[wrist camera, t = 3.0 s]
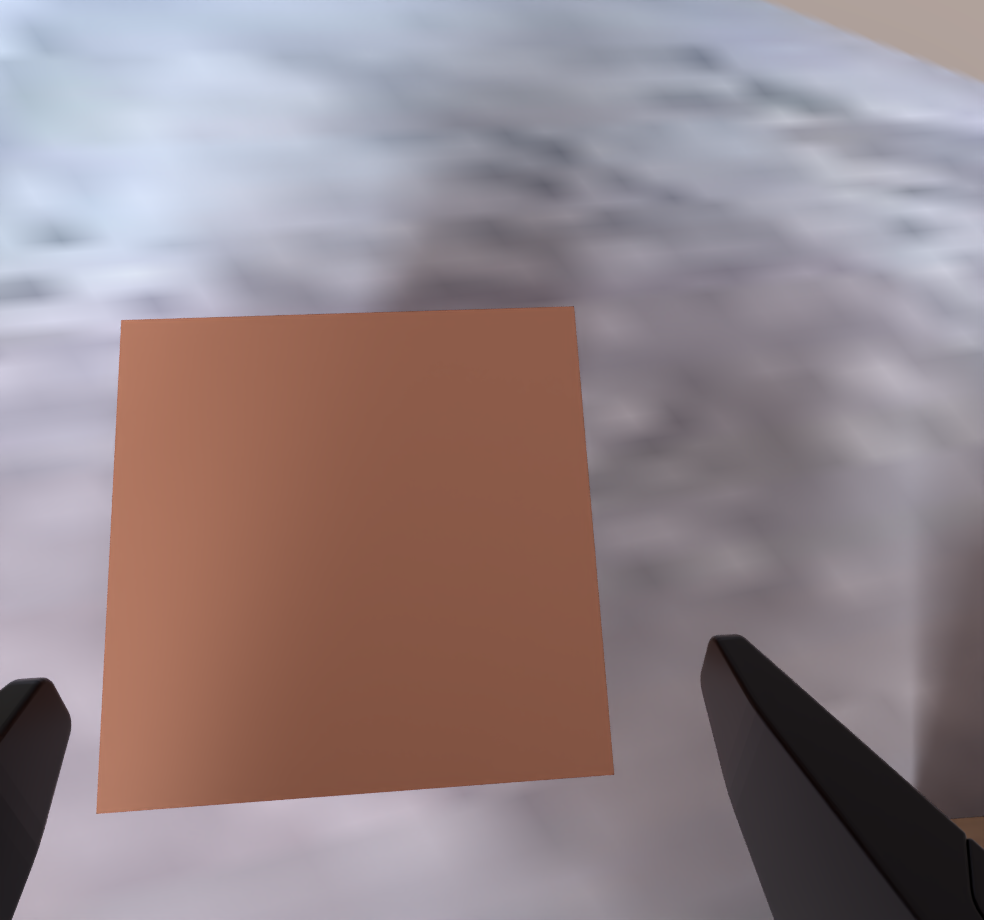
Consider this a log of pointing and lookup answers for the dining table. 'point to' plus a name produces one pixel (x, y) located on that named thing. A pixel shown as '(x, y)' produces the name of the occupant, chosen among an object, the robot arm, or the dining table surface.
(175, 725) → the rust block
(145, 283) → the dining table surface
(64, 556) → the dining table surface
